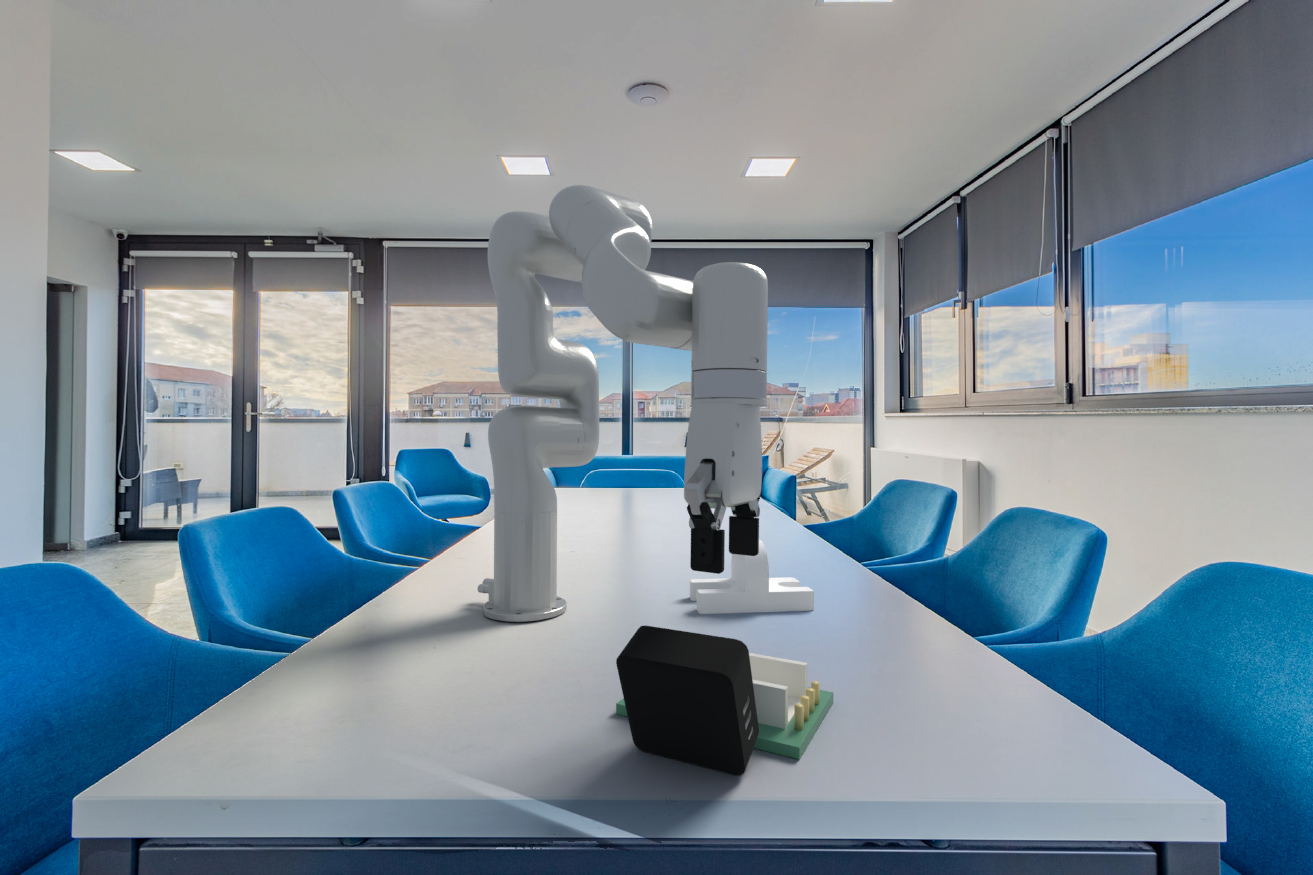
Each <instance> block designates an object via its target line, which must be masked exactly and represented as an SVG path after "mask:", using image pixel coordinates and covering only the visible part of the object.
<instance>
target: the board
mask: <svg viewBox="0 0 1313 875" xmlns="http://www.w3.org/2000/svg"><path fill="white" fill-rule="evenodd" d="M749 658H750V665H751V673H752V680H753V688H754V696H755V703H756V711H757V718H758V726H759V734H758V737H757V740H756V742H755V745H754V748H753V749H756V750H760V751H763V752H767V753H770V754H776V755H781V756H784V757H789V758H792V759H796V760H800V759H801V758H802V756H803V754H804V753H805V751H806V750H807V748H808V746H809V745H810V743H811V741H812V739H813V737H814V736H815V734H816V733H817V731H818V728H820V725H821V723H823V720H824V719H825V718H826V715H827V714H828V713H829V710H830V709H831V707H832V705H833V704H834V692H833V691H829V690H828V691H827V690H823V689H820V686H821V685H820V682H819V681H817V680H811V682H810V687H808V662H804V661H799V660H793V659H788V658H782V657H776V656H771V655H770V656H769V655H763V654H758V653H755V652H754V653H753V652H749ZM615 714H616V715H620V716H623V717H626V718H628V716H627V711H626V706H625V702H624V697H623V698H622V699H621V700H619V701H618V702H616V703H615Z"/></svg>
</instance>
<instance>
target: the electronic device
mask: <svg viewBox="0 0 1313 875" xmlns="http://www.w3.org/2000/svg"><path fill="white" fill-rule="evenodd" d="M624 646H625V647H624V648H623V649H622V651H621V652H620V653H619V655H618V656H617V657H616V660H615V662H616V663H615V664H616V668H617V673H618V678H619V683H620V687H621V692H622V696H623V698H624V702H625V706H626V711H627V716H628V717H627V716H626V717H627V719H628V724H629V728H630V729H629V730H630V734H631V739H632V742H633V744H634V746H635V747H636V748H637V749H638V750H639V751H641V752H643V753H647V754H650V755H654V756H658V757H662V758H666V759H670V760H674V761H678V762H681V763H686V764H690V765H694V766H698V767H702V768H705V769H710V770H714V771H717V772H720V773H721V772H722V773H725V774H729V775H734V776H742V775H744V774H745V772H746V769H747V767H748V764H749V761H750V758H751V756H752V753H753V751H754V749H755V748H754V745H755V742H756V740H757V737H758V734H759V726H758V718H757V711H756V703H755V696H754V688H753V680H752V673H751V665H750V658H749V653H750V652H749V648H748V646H747V645H746V643H744V642H743V640H740V639H737V638H730V637H724V636H719V635H718V636H717V635H712V634H704V633H700V632H699V633H697V632H692V631H691V632H690V631H685V630H679V629H671V628H664V627H657V626H653V625H640V626H639V627H638V628H637V629H636V631H635V633H634V634H633V636H632V637H631V638H630V640H629V641H628V642H627V644H626V645H624Z"/></svg>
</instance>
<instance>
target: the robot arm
mask: <svg viewBox="0 0 1313 875" xmlns="http://www.w3.org/2000/svg"><path fill="white" fill-rule="evenodd" d="M549 205H550V206H549V208H548V209H549V210H548V215H543V214H540V213H534V212H529V211H521V210H520V211H519V210H518V211H509V212H506V213H504V214H501V215H500V216H499V217H498V218H497V219H496V220H495V221H494V223H493V225H492V227H491V230H490V234H489V238H488V244H487V245H488V246H487V266H488V267H487V268H488V273H489V278H490V282H491V286H492V290H493V293H494V296H495V297H494V298H495V303H496V309H497V310H496V311H497V315H496V317H497V319H496V320H497V322H496V323H497V327H496V328H497V336H496V337H497V338H496V339H497V373H498V374H497V376H498V381H499V384H500V387H501V389H502V390H503V391H504V392H505V393H507V394H508V395H511V396H514V397H521V398H531V399H545V400H546V399H547V400H558V401H559V406H560V407H555V406H554V407H551V406H537V405H536V406H535V405H530V406H529V405H514V406H508V407H505V408H502V409H501V410H499V411H497V412H496V413H495V414H494V415H493V416H492V418H491V419H490V422H489V425H488V428H487V429H488V430H487V440H488V441H487V442H488V447H489V452H490V458H491V459H490V460H491V466H492V475H493V499H494V500H493V506H494V508H493V512H494V513H493V514H494V515H493V516H494V517H493V518H494V519H493V523H494V524H493V578H490V577H486V578H484V579H483V581H482V582H481V583H480V584H478V585H477V592H478V593H482V594H488V601H486V602H485V603H484V604H483V606H482V614H483V615H484V617H486V618H488V619H490V620H496V621H500V622H508V623H509V622H511V623H513V622H515V623H521V622H523V623H525V622H535V621H542V620H543V621H544V620H547V619H553V618H555V617H558V616H560V615H562V614H563V613H564V612H566V611H567V601H566V599H564V598H562V597H561V596H558V595H557V594H558V593H557V588H558V585H557V584H558V583H557V582H558V580H557V579H558V578H557V577H558V575H557V574H558V573H557V572H558V571H557V570H558V561H557V560H558V496H557V493H556V490H555V487H554V485H553V483H552V481H550V479H549V477H548V475H547V474H546V472H545V471H544V469H547V468H569V467H571V468H572V467H574V468H575V467H581V466H585V465H587V464H589V463H590V462H591V461H592V460H593V459H594V458H595V456H596V454H597V452H598V448H599V442H600V379H599V378H600V376H599V367H598V364H597V360H596V358H595V355H594V353H593V352H592V351H591V349H589V348H588V347H587V346H586V345H585V344H583V343H580V342H576V341H569V340H564V339H557V338H556V337H555V333H554V332H555V331H554V312H553V305H552V304H551V301H550V299H549V297H548V295H547V293H546V292H545V289H544V288H543V287H542V285H541V284H540V283H539V281H538V280H537V279H536V277H535V276H536V275H541V276H542V275H543V276H547V277H551V278H555V279H560V280H561V279H562V280H567V281H571V282H575V283H581V288H582V295H583V299H584V300H583V301H584V302H585V304H586V306H587V308H588V309H589V311H590V312H591V313H592V314H593V315H594V317H596V319H597V320H598V322H600V323H601V325H603V327H604V328H605V329H607V331H608V332H610V333H611V334H612V335H613V336H615V337H617V338H618V339H620V340H622V341H624V342H627V343H629V344H630V343H631V344H639V345H646V346H654V347H660V348H670V349H673V350H680V351H681V350H682V351H689V352H691V368H690V369H691V373H690V375H691V376H690V378H691V379H690V380H691V382H690V384H691V385H690V386H691V390H690V399H691V400H690V405H691V409H690V413H689V414H690V415H689V421H688V427H687V434H686V435H687V436H686V446H685V461H684V477H683V478H684V480H683V499H684V500H685V503H687V506H686V510H687V513H688V515H689V518H688V519H689V520H688V526H689V528H690V564H689V566H690V569H691V570H692V571H694V572H702V573H709V574H721V573H723V572H724V571H725V546H726V545H725V540H726V539H725V537H726V536H725V535H726V534H725V533H726V531H725V529H721V528H722V524H723V521H724V518H725V513H726V510H727V508H730V510H731V513H732V515H729V516H728V552H729V554H730V555H732V554H738V555H748V556H756V555H758V553H759V539H760V518H759V517H760V514H761V508H760V505H759V502H760V500H761V492H762V480H763V449H762V447H763V446H762V444H763V443H762V442H763V441H762V426H761V412H760V408H761V407H767V404H768V402H767V397H768V396H767V394H768V392H767V386H768V385H767V384H768V375H767V374H768V373H767V372H768V320H769V319H768V316H769V314H768V312H769V311H768V309H769V308H768V306H769V304H768V303H769V296H768V295H769V283H768V281H769V280H768V277H767V274H766V273H765V272H764V270H763V269H761V268H760V267H758V266H756V265H754V264H751V263H745V262H738V261H737V262H736V261H735V262H733V261H729V262H728V261H727V262H726V261H725V262H718V263H714V264H713V263H712V264H710V265H705V266H703V267H702V268H701V269H700V270H698V271H697V272H696V274H695V275H694V278H693V280H689V279H686V278H681V277H677V276H672V275H669V274H668V275H667V274H665V273H660V272H654V271H649V270H646V269H647V267H648V264H649V262H650V259H651V255H652V247H651V246H652V245H651V243H652V240H653V236H654V235H653V234H654V228H653V221H652V218H651V215H650V213H649V211H648V210H647V209H646V207H645V206H644V205H642V203H640V202H638V201H637V200H634V199H632V198H629V197H625V196H622V195H619V194H617V193H612V192H610V191H607V190H604V189H600V188H597V187H593V186H590V185H582V184H575V185H569V186H567V187H565V188H563V189H561V190H560V191H558V192H557V193H556V195H554V197H553V198H552V200H551V202H550V204H549ZM712 509H714V511H712Z"/></svg>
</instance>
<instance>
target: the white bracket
mask: <svg viewBox="0 0 1313 875" xmlns="http://www.w3.org/2000/svg"><path fill="white" fill-rule="evenodd" d="M730 566H731V567H730V569H731V570H730V575H731V576H730V577H731V578H729V577H728V578H692V579H690V580H689V599H690V601H692V602H693V601H694V602H695V601H696V611H697V613H698V614H700V615H708V614H709V615H712V614H713V615H714V614H741V613H742V614H743V613H745V614H747V613H776V612H804V611H805V612H809V611H811V610H813V611H815V590H813V589H812V588H810V587H809V586H801V585H800V584H801V582H800V581H799V580H798V579H797V578H795V577H790V576H789V577H783V576H782V577H770V569H769V568H770V566H769V557H768V553H767V549H766V546H765V543H764V542H763V540H761V539H760V538H759V553H758V555H756V556H748V555H738V554H731V562H730ZM811 612H812V611H811Z"/></svg>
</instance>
